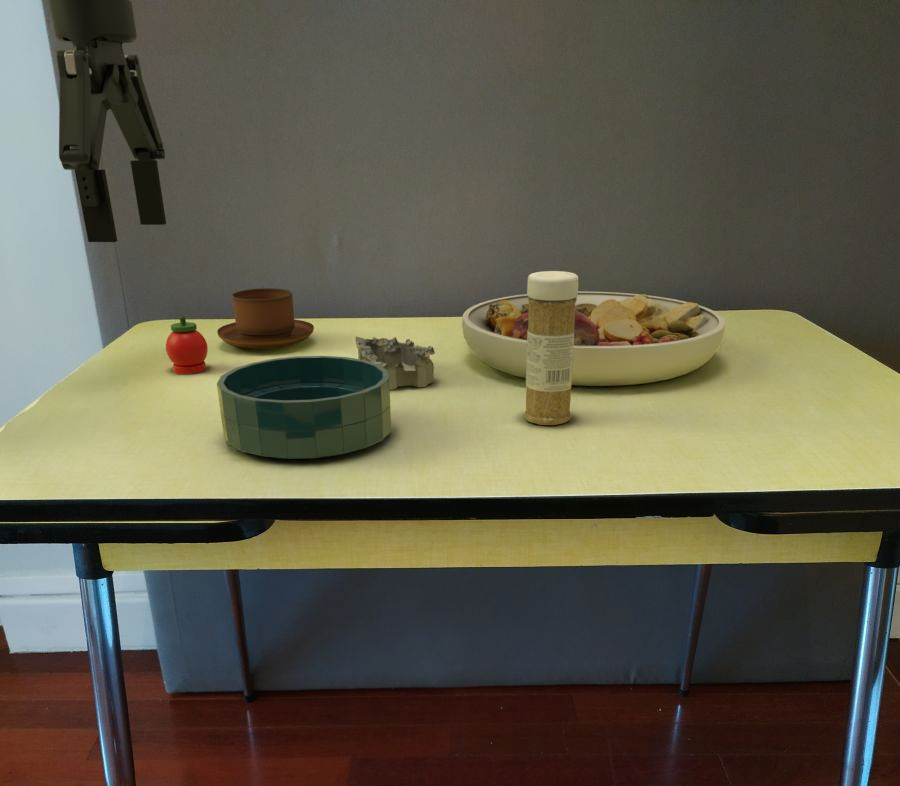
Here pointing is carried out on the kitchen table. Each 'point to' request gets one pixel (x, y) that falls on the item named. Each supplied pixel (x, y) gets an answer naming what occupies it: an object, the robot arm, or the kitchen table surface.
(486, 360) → the bowl
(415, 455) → the kitchen table surface
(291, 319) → the cup and saucer
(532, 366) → the spice jar
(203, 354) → the tomato shaped ketchup bottle
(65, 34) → the robot arm
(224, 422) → the dessert bowl
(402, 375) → the egg carton
